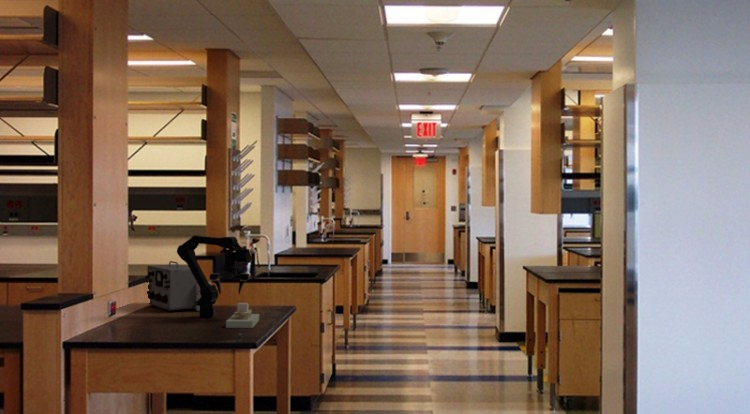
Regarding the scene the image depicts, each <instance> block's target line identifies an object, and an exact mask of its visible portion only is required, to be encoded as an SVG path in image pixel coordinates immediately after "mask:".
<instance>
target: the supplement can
mask: <svg viewBox="0 0 750 414" xmlns="http://www.w3.org/2000/svg"><path fill="white" fill-rule="evenodd" d="M208 283H209V284H210V285H213V284H212V283H211V281H208ZM200 298H201V294H200V287H199V285H198V283H197V284H196V310H195V311H196V312H199V313H200V306H198V304H197V301H198V300H199V299H200Z"/></svg>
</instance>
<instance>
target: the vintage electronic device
mask: <svg viewBox="0 0 750 414" xmlns="http://www.w3.org/2000/svg"><path fill="white" fill-rule="evenodd" d="M171 263H172V264H171ZM146 273H147V274H146V275H145V276H144V278H145V280H146V282H147V283H148V282H149V285H148V289H149V291H147V290H146V291H147V294H148V298H149V299H150V303H149V304H148V305H151V307H152V306H153V307H154V306H156V307H157V308H159V309H163V310H166V311H169V313H175V311H176V310H177V311H178V310H188V309H190V310H191V311H197V310H196V284H197V281H196V279H195V278H194V276H193V274H192V272H191V270H190V268H189V267H188V265H182V264H181V265H180V264H179V263H178V262H177V261H173V260H170V261H169V263H168V264H165V265H164V264H163V265H162V264H160V265H159V264H158V265H157V264H155V265H147V272H146ZM147 278H148V280H147ZM146 282H145V283H146ZM147 294H146V295H147ZM153 307H152V308H153Z"/></svg>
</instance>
